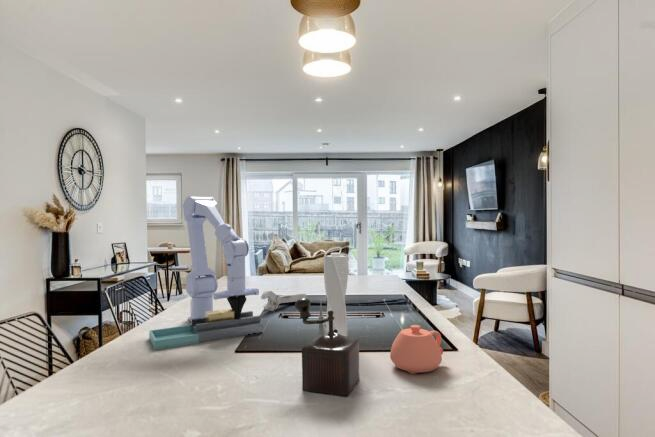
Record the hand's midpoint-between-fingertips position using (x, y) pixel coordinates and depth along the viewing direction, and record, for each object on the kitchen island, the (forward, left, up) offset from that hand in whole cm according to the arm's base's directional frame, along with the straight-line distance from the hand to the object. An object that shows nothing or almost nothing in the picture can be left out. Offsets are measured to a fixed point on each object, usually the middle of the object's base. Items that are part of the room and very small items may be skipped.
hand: (236, 319), depth 135 cm
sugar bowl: (+54, +28, -4) cm, 61 cm away
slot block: (0, -4, -4) cm, 5 cm away
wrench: (-25, +28, -4) cm, 38 cm away
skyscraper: (+26, +21, -4) cm, 34 cm away
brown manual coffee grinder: (+50, +3, -4) cm, 50 cm away
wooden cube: (0, -4, -1) cm, 4 cm away
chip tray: (0, -20, -4) cm, 20 cm away
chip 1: (0, -8, -1) cm, 8 cm away
